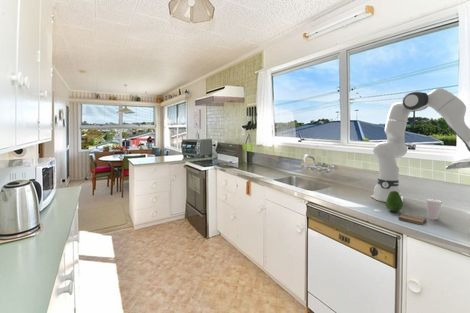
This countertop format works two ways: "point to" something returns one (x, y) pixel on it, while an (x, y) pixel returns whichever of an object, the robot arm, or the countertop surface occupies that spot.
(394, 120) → the robot arm
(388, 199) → the avocado
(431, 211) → the smoothie
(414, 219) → the coaster board
